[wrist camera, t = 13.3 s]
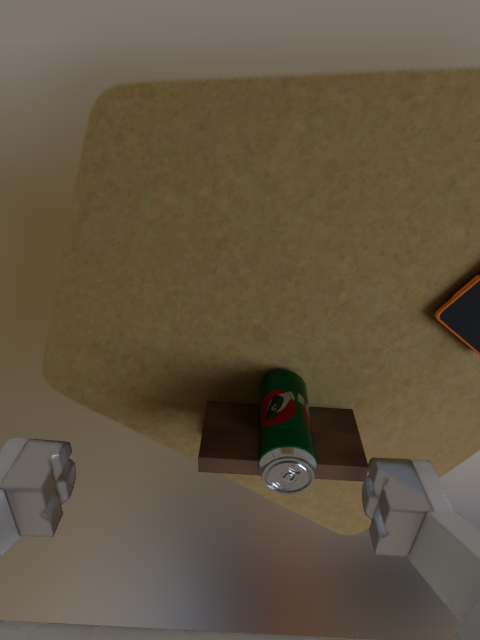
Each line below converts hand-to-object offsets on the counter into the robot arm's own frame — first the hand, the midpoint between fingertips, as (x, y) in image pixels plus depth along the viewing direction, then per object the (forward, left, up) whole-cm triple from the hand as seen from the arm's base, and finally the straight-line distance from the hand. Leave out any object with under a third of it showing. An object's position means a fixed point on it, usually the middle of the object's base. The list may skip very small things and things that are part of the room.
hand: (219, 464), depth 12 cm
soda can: (+12, -16, -28) cm, 35 cm away
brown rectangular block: (+14, -21, -28) cm, 38 cm away
